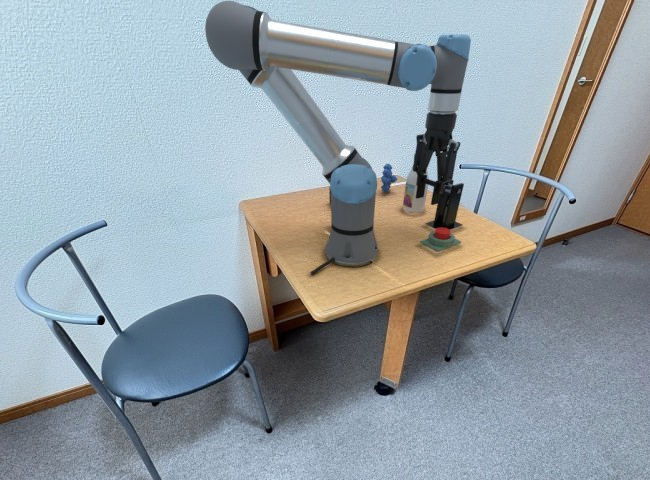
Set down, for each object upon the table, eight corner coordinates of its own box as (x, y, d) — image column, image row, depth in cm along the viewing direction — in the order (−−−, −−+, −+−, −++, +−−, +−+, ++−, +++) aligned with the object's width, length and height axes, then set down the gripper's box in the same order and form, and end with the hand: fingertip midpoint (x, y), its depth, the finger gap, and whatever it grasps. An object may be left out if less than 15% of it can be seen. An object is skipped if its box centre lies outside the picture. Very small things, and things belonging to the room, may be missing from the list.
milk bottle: (422, 208, 122) (431, 151, 110) (424, 216, 116) (435, 157, 104) (401, 207, 123) (408, 150, 111) (402, 215, 117) (410, 156, 105)
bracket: (442, 235, 104) (451, 189, 95) (423, 226, 109) (431, 182, 100) (462, 228, 108) (474, 183, 99) (444, 220, 114) (453, 176, 105)
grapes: (394, 198, 130) (397, 167, 123) (377, 197, 131) (379, 166, 124) (397, 189, 139) (400, 159, 131) (381, 188, 140) (384, 158, 133)
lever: (433, 188, 92) (437, 180, 91) (420, 183, 96) (423, 175, 95) (459, 195, 100) (462, 188, 99) (445, 190, 104) (448, 183, 103)
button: (442, 241, 94) (443, 235, 93) (430, 236, 97) (432, 229, 96) (452, 237, 96) (454, 231, 95) (441, 232, 99) (442, 226, 98)
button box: (437, 255, 94) (439, 245, 92) (419, 245, 99) (420, 235, 97) (460, 246, 98) (463, 236, 96) (441, 237, 103) (444, 227, 101)
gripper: (482, 115, 79) (460, 207, 93) (426, 106, 91) (414, 189, 105) (461, 118, 76) (442, 213, 90) (406, 108, 88) (396, 194, 102)
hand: (427, 200), depth 97 cm, fingers closed on lever, 5 cm apart
